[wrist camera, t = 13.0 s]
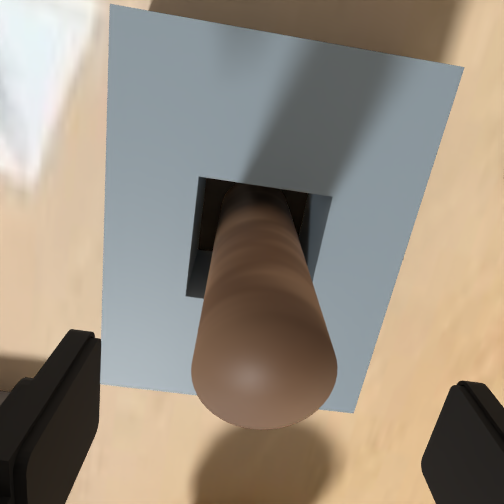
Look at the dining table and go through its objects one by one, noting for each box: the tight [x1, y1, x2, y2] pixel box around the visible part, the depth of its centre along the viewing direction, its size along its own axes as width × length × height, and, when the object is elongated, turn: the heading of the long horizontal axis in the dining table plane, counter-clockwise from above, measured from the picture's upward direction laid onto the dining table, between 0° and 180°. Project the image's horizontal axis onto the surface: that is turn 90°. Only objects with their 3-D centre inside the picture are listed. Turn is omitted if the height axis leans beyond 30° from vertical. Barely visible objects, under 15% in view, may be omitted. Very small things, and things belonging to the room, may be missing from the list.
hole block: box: [100, 4, 464, 413], centre depth 23 cm, size 14×18×6 cm
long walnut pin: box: [191, 182, 338, 430], centre depth 19 cm, size 4×4×15 cm
